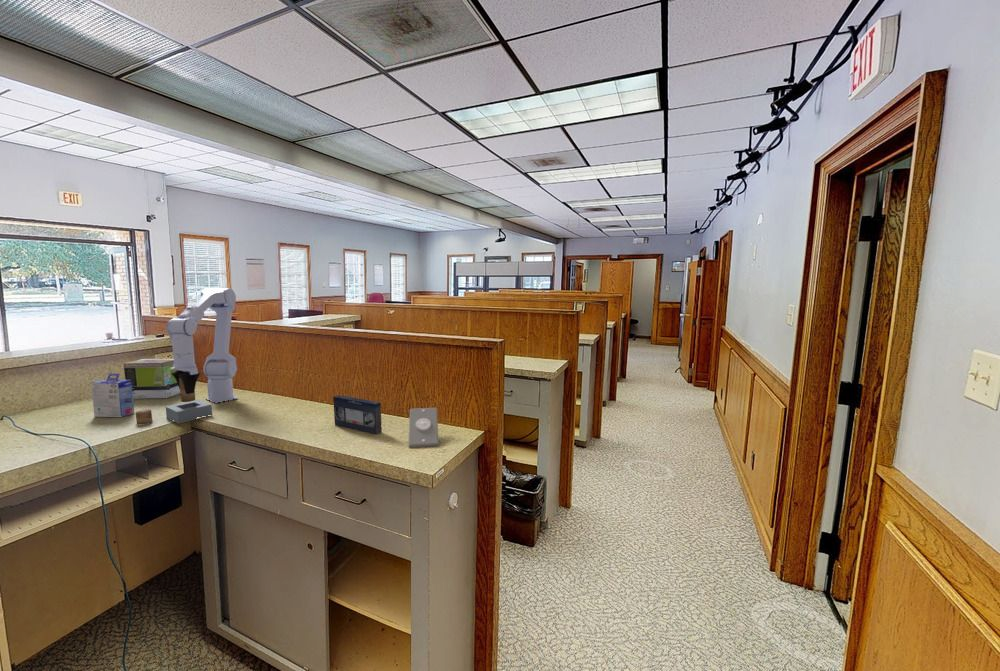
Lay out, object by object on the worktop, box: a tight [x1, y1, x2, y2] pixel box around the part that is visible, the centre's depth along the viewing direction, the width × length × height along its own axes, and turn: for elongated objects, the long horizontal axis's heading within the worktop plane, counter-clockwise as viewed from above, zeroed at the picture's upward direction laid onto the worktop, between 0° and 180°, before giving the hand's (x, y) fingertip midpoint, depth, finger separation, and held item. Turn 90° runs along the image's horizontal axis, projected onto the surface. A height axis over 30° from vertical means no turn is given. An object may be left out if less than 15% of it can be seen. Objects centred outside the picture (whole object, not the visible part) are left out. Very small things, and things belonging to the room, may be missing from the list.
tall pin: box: [179, 378, 196, 403], centre depth 144 cm, size 4×4×8 cm
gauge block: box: [165, 399, 213, 424], centre depth 145 cm, size 10×10×4 cm
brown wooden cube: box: [135, 409, 153, 426], centre depth 139 cm, size 4×4×4 cm
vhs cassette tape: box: [333, 394, 383, 435], centre depth 135 cm, size 18×3×10 cm, turn 62°
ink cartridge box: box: [91, 373, 135, 418], centre depth 145 cm, size 10×6×14 cm, turn 89°
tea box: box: [123, 358, 180, 400], centre depth 169 cm, size 15×10×15 cm
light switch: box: [408, 407, 439, 448], centre depth 128 cm, size 8×6×14 cm
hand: (187, 392), depth 144 cm, fingers closed on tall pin, 4 cm apart
